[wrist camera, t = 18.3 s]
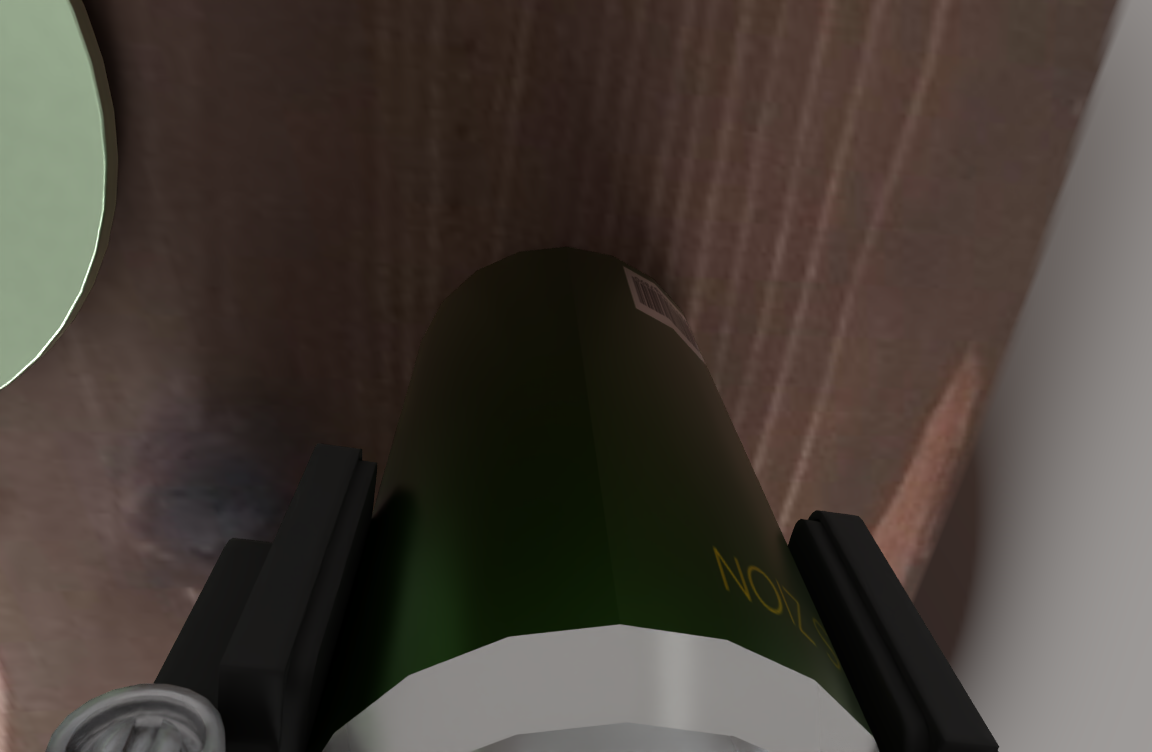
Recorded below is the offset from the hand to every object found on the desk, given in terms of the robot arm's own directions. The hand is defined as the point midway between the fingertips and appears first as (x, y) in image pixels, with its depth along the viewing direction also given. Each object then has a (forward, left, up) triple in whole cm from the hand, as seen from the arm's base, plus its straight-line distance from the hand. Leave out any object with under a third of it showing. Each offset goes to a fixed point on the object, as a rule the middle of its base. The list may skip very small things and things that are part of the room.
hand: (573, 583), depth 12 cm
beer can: (0, 0, -7) cm, 7 cm away
